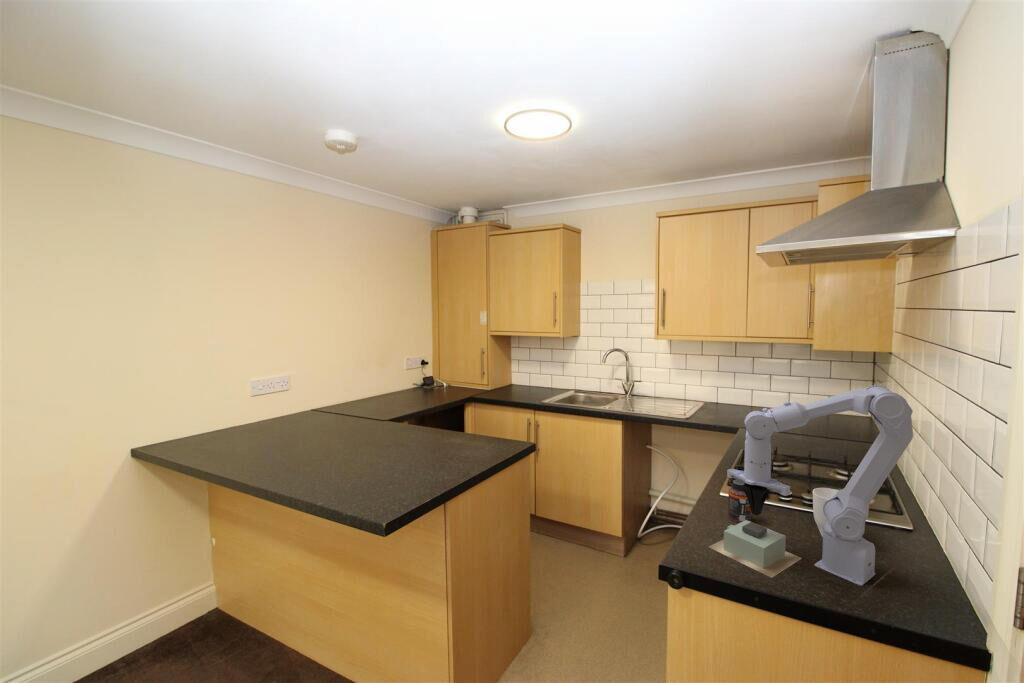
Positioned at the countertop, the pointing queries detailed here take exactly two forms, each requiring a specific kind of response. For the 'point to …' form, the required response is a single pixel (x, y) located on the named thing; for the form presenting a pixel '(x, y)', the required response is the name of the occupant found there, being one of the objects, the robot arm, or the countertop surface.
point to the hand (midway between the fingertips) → (756, 513)
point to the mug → (821, 505)
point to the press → (754, 545)
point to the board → (769, 570)
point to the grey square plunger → (754, 529)
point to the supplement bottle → (738, 503)
